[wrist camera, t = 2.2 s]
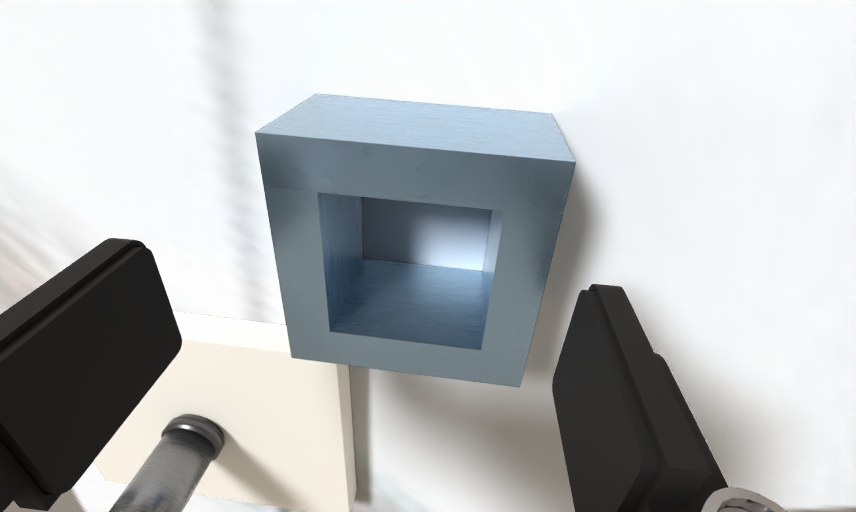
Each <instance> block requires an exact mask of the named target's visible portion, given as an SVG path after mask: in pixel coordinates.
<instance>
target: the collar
mask: <svg viewBox="0 0 856 512" xmlns="http://www.w3.org/2000/svg"><path fill="white" fill-rule="evenodd" d="M255 136H256V142H257V148H258V154H259V161H260V167H261V173H262V179H263V185H264V191H265V198H266V204H267V210H268V216H269V222H270V228H271V235H272V241H273V247H274V253H275V259H276V265H277V272H278V278H279V284H280V290H281V296H282V302H283V309H284V315H285V321H286V327H287V333H288V339H289V346H290V352H291V358H295V359H303V360H311V361H318V362H326V363H334V364H342V365H349V366H357V367H365V368H373V369H380V370H388V371H396V372H404V373H411V374H419V375H427V376H435V377H442V378H450V379H458V380H466V381H473V382H481V383H489V384H497V385H504V386H512V387H520V384H521V380H522V376H523V372H524V368H525V364H526V360H527V356H528V352H529V348H530V344H531V340H532V336H533V332H534V328H535V324H536V320H537V316H538V312H539V308H540V304H541V300H542V296H543V292H544V288H545V284H546V280H547V276H548V272H549V268H550V264H551V260H552V256H553V252H554V248H555V244H556V240H557V236H558V232H559V228H560V224H561V220H562V216H563V212H564V208H565V204H566V200H567V196H568V192H569V188H570V184H571V180H572V176H573V172H574V167H575V163H576V161H575V159H574V157H573V155H572V153H571V151H570V149H569V147H568V145H567V143H566V141H565V139H564V137H563V135H562V133H561V131H560V129H559V127H558V125H557V123H556V121H555V119H554V117H553V115H552V114H548V113H536V112H524V111H512V110H500V109H489V108H477V107H465V106H453V105H442V104H430V103H418V102H406V101H394V100H383V99H371V98H359V97H347V96H335V95H324V94H315V95H313V96H311V97H310V98H308V99H307V100H305V101H303V102H302V103H300V104H299V105H297V106H296V107H294V108H292V109H291V110H289V111H288V112H286V113H285V114H283V115H281V116H280V117H278V118H277V119H275V120H274V121H272V122H270V123H269V124H267V125H266V126H264V127H263V128H261V129H259V130H258V131H256V132H255ZM361 197H369V198H379V199H389V200H399V201H409V202H419V203H429V204H439V205H448V206H458V207H468V208H478V209H488V210H492V212H491V219H490V226H489V232H488V239H487V246H486V252H485V259H484V266H483V271H474V270H465V269H456V268H447V267H438V266H429V265H420V264H411V263H402V262H393V261H384V260H375V259H366V258H363V236H362V204H361Z"/></svg>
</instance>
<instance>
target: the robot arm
mask: <svg viewBox="0 0 856 512" xmlns="http://www.w3.org/2000/svg"><path fill="white" fill-rule="evenodd" d="M181 346H182V337H181V334H180V331H179V328H178V325H177V322H176V319H175V316H174V314H173V311H172V308H171V305H170V302H169V299H168V296H167V294H166V291H165V288H164V285H163V282H162V279H161V276H160V274H159V271H158V268H157V265H156V262H155V259H154V256H153V254H152V252H151V251H150V250H149V249H148V248H146V246H145V245H144V244H143V243H142V242H140V241H138V240H128V239H117V238H110V239H107V240H105V241H103V242H102V243H101V244H99V245H98V246H96V247H95V248H94V249H92V250H91V251H89V252H88V253H87V254H85V255H84V256H82V257H81V258H80V259H78V260H77V261H75V262H74V263H72V264H71V265H70V266H68V267H67V268H65V269H64V270H63V271H61V272H60V273H58V274H57V275H56V276H54V277H53V278H51V279H50V280H48V281H47V282H46V283H44V284H43V285H41V286H40V287H39V288H37V289H36V290H34V291H33V292H32V293H30V294H29V295H27V296H26V297H24V298H23V299H22V300H20V301H19V302H17V303H16V304H15V305H13V306H12V307H10V308H9V309H8V310H6V311H5V312H3V313H2V314H0V512H4V510H5V509H6V508H7V507H8V506H9V505H10V503H11V502H12V501H13V500H14V501H15V502H16V504H17V505H18V506H19V507H21V508H29V509H36V510H44V511H48V510H49V509H50V507H51V506H52V505H53V504H54V502H55V501H56V500H57V499H58V497H59V496H60V495H61V494H62V493H65V492H67V491H68V490H70V489H71V488H72V487H73V486H74V485H75V484H76V482H77V481H78V480H79V479H80V477H81V476H82V475H83V474H84V472H85V471H86V470H87V468H88V467H89V466H90V465H91V463H92V462H93V461H94V460H95V458H96V457H97V456H98V455H99V453H100V452H101V451H102V449H103V448H104V447H105V446H106V444H107V443H108V442H109V441H110V439H111V438H112V437H113V436H114V434H115V433H116V432H117V430H118V429H119V428H120V427H121V425H122V424H123V423H124V422H125V420H126V419H127V418H128V417H129V415H130V414H131V413H132V411H133V410H134V409H135V408H136V406H137V405H138V404H139V403H140V401H141V400H142V399H143V398H144V396H145V395H146V394H147V392H148V391H149V390H150V389H151V387H152V386H153V385H154V384H155V382H156V381H157V380H158V379H159V377H160V376H161V375H162V373H163V372H164V371H165V370H166V368H167V367H168V366H169V365H170V363H171V362H172V361H173V360H174V358H175V357H176V356H177V354H178V353H179V351H180V349H181ZM552 390H553V397H554V402H555V408H556V413H557V418H558V424H559V429H560V434H561V439H562V445H563V450H564V455H565V460H566V466H567V471H568V476H569V481H570V487H571V492H572V497H573V502H574V508H575V512H787V511H786V510H784V509H783V508H782V507H780V506H779V505H778V504H776V503H775V502H773V501H771V500H769V499H767V498H765V497H764V496H762V495H760V494H758V493H755V492H752V491H748V490H745V489H742V488H729V487H728V485H727V483H726V481H725V479H724V477H723V475H722V473H721V471H720V469H719V467H718V465H717V463H716V461H715V459H714V457H713V455H712V453H711V451H710V449H709V447H708V445H707V443H706V441H705V439H704V437H703V435H702V433H701V431H700V429H699V427H698V425H697V423H696V421H695V419H694V417H693V415H692V413H691V411H690V409H689V407H688V405H687V403H686V401H685V399H684V397H683V395H682V393H681V391H680V389H679V387H678V385H677V383H676V381H675V379H674V377H673V375H672V373H671V371H670V369H669V367H668V365H667V363H666V362H665V360H664V359H663V357H661V356H660V355H659V354H656V353H654V352H653V349H652V347H651V345H650V343H649V341H648V339H647V337H646V335H645V333H644V331H643V329H642V327H641V325H640V322H639V320H638V318H637V316H636V314H635V312H634V310H633V308H632V306H631V304H630V302H629V300H628V298H627V295H626V293H625V291H624V290H623V288H622V287H620V286H609V285H599V284H592V285H591V286H590V287H589V290H581V292H580V293H579V296H578V299H577V302H576V306H575V309H574V312H573V315H572V319H571V322H570V325H569V328H568V332H567V335H566V338H565V341H564V344H563V348H562V351H561V354H560V357H559V361H558V364H557V367H556V370H555V373H554V377H553V384H552Z"/></svg>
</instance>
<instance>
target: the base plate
mask: <svg viewBox="0 0 856 512" xmlns="http://www.w3.org/2000/svg"><path fill="white" fill-rule="evenodd" d="M173 314H174V316H175V319H176V322H177V325H178V328H179V331H180V334H181V337H182V346H181V349H180V351H179V353H178V354H177V356H176V357H175V358H174V360H173V361H172V362H171V363H170V365H169V366H168V367H167V368H166V370H165V371H164V372H163V373H162V375H161V376H160V377H159V379H158V380H157V381H156V382H155V384H154V385H153V386H152V387H151V389H150V390H149V391H148V392H147V394H146V395H145V396H144V398H143V399H142V400H141V401H140V403H139V404H138V405H137V406H136V408H135V409H134V410H133V411H132V413H131V414H130V415H129V417H128V418H127V419H126V420H125V422H124V423H123V424H122V425H121V427H120V428H119V429H118V430H117V432H116V433H115V434H114V436H113V437H112V438H111V439H110V441H109V442H108V443H107V444H106V446H105V447H104V448H103V449H102V451H101V452H100V453H99V455H98V456H97V457H96V458H95V460H94V461H93V462H94V464H95V465H96V467H97V469H98V470H99V472H100V473H101V475H102V477H103V478H104V480H106V481H113V482H119V483H126V484H129V483H130V482H131V480H132V479H133V478H134V476H135V475H136V473H137V472H138V471H139V469H140V468H141V466H142V465H143V464H144V462H145V461H146V460H147V458H148V457H149V455H150V454H151V453H152V451H153V450H154V448H155V447H156V446H157V444H158V443H159V441H160V440H161V439H162V438H161V434H162V431H163V430H164V429H165V427H166V426H167V424H168V423H169V422H170V421H171V420H172V419H173V418H176V417H178V416H180V415H183V414H194V415H199V416H202V417H205V418H207V419H209V420H211V421H212V422H214V423H215V424H216V425H218V426H219V427H220V429H221V430H222V431H223V434H224V441H225V444H224V447H223V449H222V450H221V452H220V454H219V456H218V457H217V458H216V459H215V460H213V461H211V463H210V465H209V466H208V468H207V470H206V471H205V473H204V475H203V477H202V478H201V480H200V482H199V484H198V485H197V487H196V489H195V490H194V492H193V494H197V495H204V496H210V497H217V498H223V499H230V500H236V501H243V502H249V503H255V504H262V505H268V506H275V507H281V508H288V509H294V510H301V511H307V512H351V510H352V506H353V503H354V499H355V495H356V491H357V488H356V472H355V456H354V441H353V425H352V409H351V393H350V377H349V365H342V364H334V363H326V362H318V361H311V360H303V359H295V358H291V352H290V346H289V339H288V333H287V327H286V325H281V324H273V323H265V322H257V321H249V320H241V319H233V318H225V317H217V316H209V315H201V314H192V313H184V312H176V311H173Z"/></svg>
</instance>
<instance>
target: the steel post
mask: <svg viewBox="0 0 856 512" xmlns="http://www.w3.org/2000/svg"><path fill="white" fill-rule="evenodd" d="M161 438H162V439H161V440H160V441H159V443H158V444H157V446H156V447H155V448H154V450H153V451H152V453H151V454H150V455H149V457H148V458H147V460H146V461H145V462H144V464H143V465H142V466H141V468H140V469H139V471H138V472H137V473H136V475H135V476H134V478H133V479H132V480H131V482H130V483H129V485H128V486H127V487H126V489H125V490H124V492H123V493H122V494H121V496H120V497H119V498H118V500H117V501H116V503H115V504H114V505H113V507H112V508H111V510H110V511H109V512H182V511H183V509H184V508H185V506H186V504H187V503H188V501H189V499H190V497H191V496H192V494H193V492H194V490H195V489H196V487H197V485H198V484H199V482H200V480H201V478H202V477H203V475H204V473H205V471H206V470H207V468H208V466H209V465H210V463H211V461H213V460H215V459H216V458H217V457H218V456H219V454H220V452H221V450H222V449H223V447H224V444H225V441H224V434H223V431H222V430H221V429H220V427H219V426H218V425H216V424H215V423H214V422H212V421H211V420H209V419H207V418H205V417H202V416H199V415H194V414H183V415H180V416H178V417H176V418H173V419H172V420H171V421H170V422H169V423H168V424H167V426H166V427H165V429H164V430H163V431H162V434H161Z"/></svg>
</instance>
